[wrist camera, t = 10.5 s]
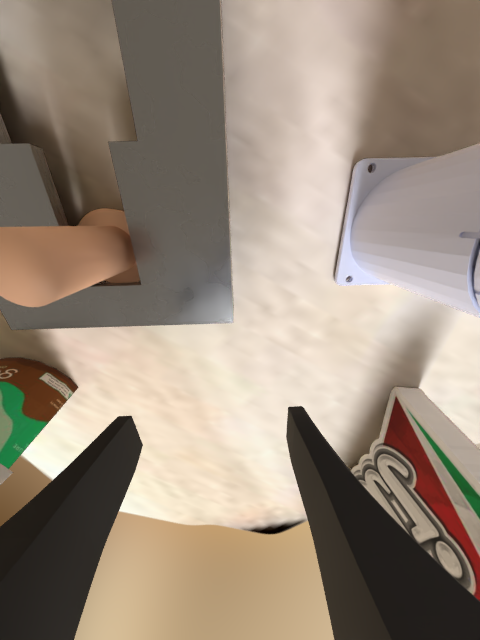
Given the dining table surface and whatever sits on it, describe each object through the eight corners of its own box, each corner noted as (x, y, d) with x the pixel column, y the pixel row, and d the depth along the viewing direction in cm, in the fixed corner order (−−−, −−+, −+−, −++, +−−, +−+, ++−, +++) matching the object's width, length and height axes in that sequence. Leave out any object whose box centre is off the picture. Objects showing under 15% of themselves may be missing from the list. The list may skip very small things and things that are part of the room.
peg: (151, 210, 14) (63, 196, 7) (161, 282, 16) (101, 329, 9) (76, 208, 14) (-96, 190, 7) (96, 280, 16) (-18, 328, 9)
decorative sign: (338, 485, 33) (402, 669, 20) (322, 485, 33) (377, 669, 20) (419, 386, 21) (694, 669, 9) (395, 384, 21) (639, 670, 8)
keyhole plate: (217, -82, 9) (212, -182, 7) (233, 310, 17) (233, 322, 15) (-146, -79, 9) (-273, -180, 7) (41, 315, 17) (11, 329, 15)
